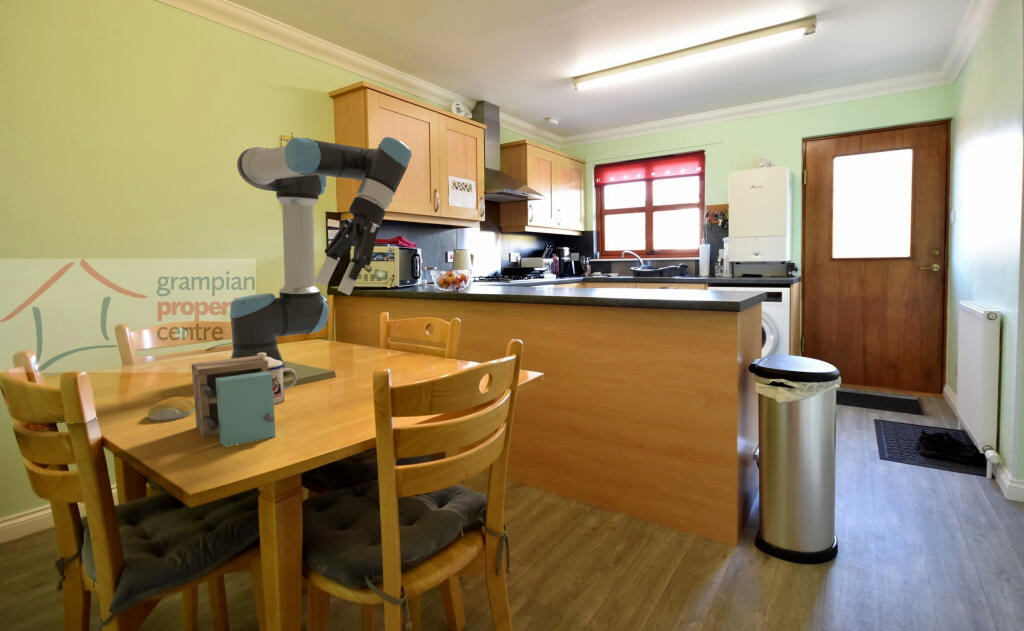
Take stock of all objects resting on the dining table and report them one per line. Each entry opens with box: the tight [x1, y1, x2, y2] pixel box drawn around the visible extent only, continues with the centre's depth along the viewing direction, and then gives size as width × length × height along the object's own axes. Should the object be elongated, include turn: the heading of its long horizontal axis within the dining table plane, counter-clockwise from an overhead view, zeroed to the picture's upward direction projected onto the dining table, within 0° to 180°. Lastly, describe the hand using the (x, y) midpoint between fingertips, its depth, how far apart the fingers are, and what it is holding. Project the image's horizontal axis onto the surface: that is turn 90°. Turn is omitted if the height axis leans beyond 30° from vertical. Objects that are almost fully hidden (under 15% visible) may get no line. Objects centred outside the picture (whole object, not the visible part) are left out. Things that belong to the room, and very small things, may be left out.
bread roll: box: [147, 396, 195, 422], centre depth 112 cm, size 8×9×4 cm
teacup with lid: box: [257, 353, 298, 405], centre depth 122 cm, size 12×9×12 cm
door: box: [215, 371, 277, 448], centre depth 95 cm, size 4×9×12 cm, turn 130°
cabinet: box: [191, 356, 269, 438], centre depth 101 cm, size 14×12×13 cm
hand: (331, 288), depth 116 cm, fingers open, 13 cm apart
